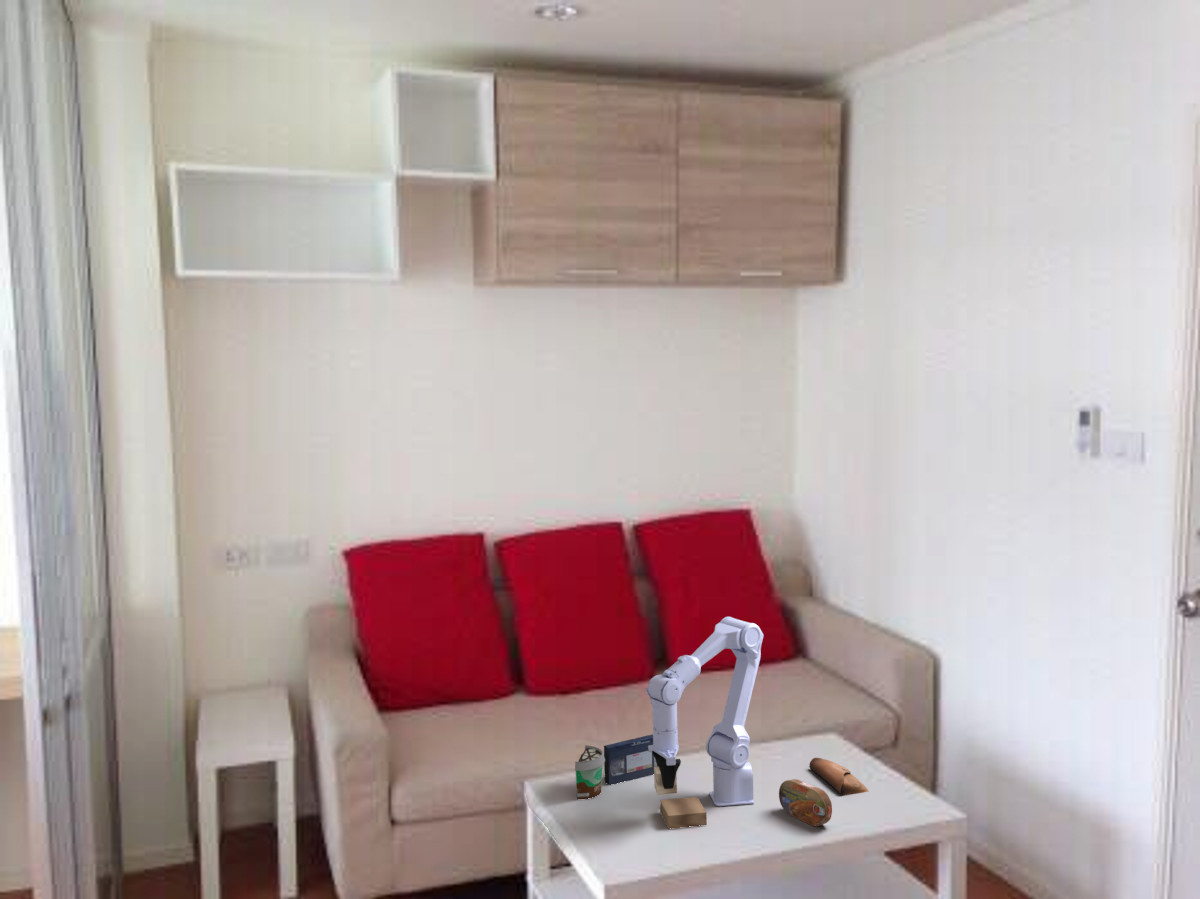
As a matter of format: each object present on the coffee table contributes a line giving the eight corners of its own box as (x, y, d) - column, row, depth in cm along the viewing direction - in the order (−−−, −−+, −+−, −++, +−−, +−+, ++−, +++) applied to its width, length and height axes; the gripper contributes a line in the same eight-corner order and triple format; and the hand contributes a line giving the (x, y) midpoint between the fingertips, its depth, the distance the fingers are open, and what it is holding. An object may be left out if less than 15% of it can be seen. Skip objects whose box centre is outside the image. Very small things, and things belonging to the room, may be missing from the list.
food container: (600, 803, 270) (599, 763, 269) (575, 802, 271) (574, 762, 270) (610, 783, 282) (609, 745, 281) (586, 782, 283) (585, 744, 282)
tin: (777, 810, 263) (777, 775, 263) (787, 806, 265) (787, 772, 264) (824, 832, 251) (824, 796, 250) (834, 828, 253) (834, 792, 252)
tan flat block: (697, 811, 265) (697, 796, 265) (706, 827, 256) (706, 812, 256) (660, 814, 264) (660, 800, 263) (668, 830, 255) (668, 815, 254)
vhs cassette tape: (608, 786, 280) (607, 748, 279) (603, 782, 283) (602, 744, 282) (670, 771, 289) (670, 734, 288) (665, 768, 291) (664, 731, 290)
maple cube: (673, 785, 261) (672, 765, 261) (676, 793, 257) (676, 772, 256) (654, 787, 261) (653, 766, 260) (657, 794, 256) (657, 774, 256)
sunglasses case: (872, 791, 272) (859, 770, 271) (850, 808, 271) (837, 788, 270) (838, 765, 290) (826, 745, 288) (817, 781, 289) (804, 761, 287)
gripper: (643, 718, 264) (644, 773, 265) (653, 739, 250) (654, 797, 251) (672, 715, 265) (673, 770, 266) (683, 737, 250) (685, 795, 252)
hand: (666, 783), depth 259 cm, fingers closed on maple cube, 4 cm apart
